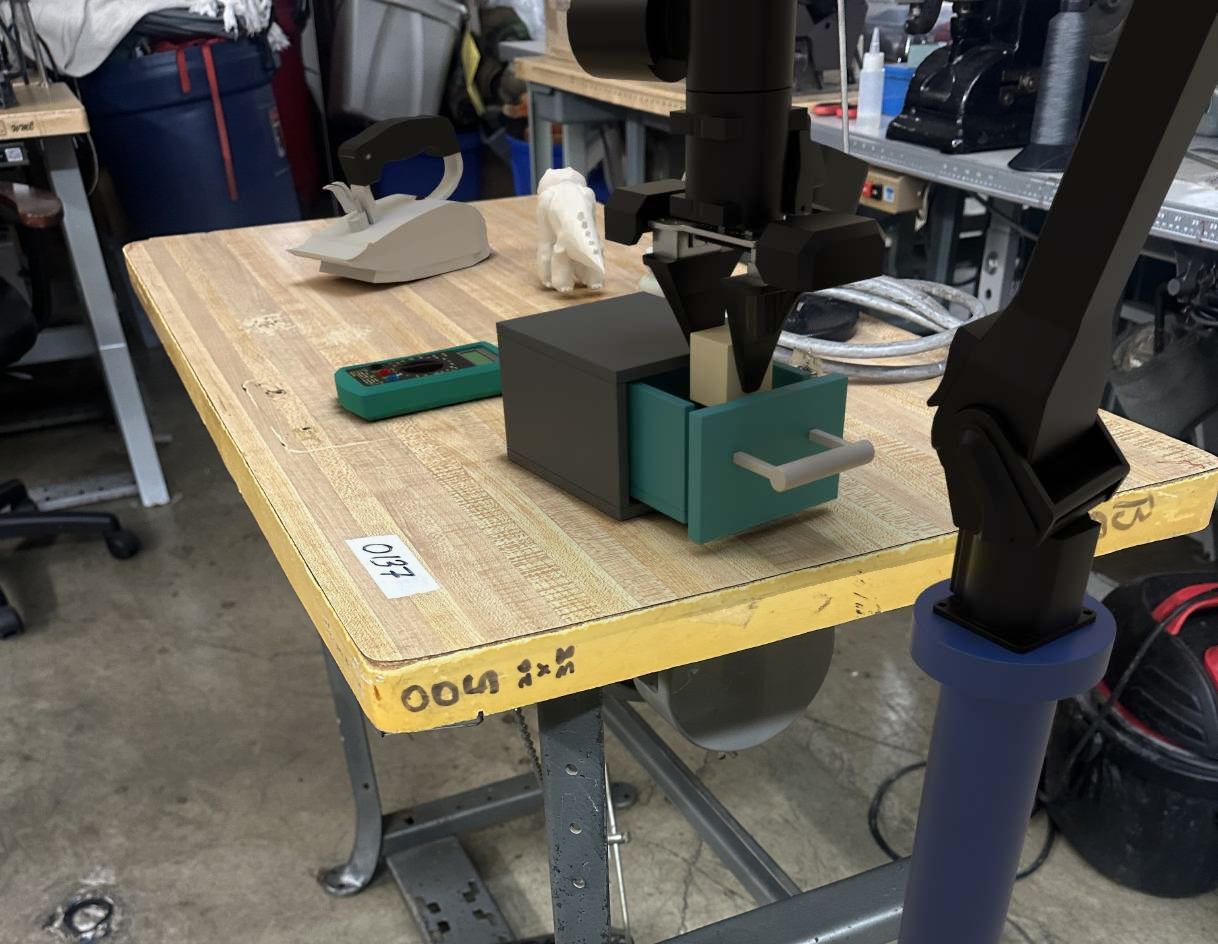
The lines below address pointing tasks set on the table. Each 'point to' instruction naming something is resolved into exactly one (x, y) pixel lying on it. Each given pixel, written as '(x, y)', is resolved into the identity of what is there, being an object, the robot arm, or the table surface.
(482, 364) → the digital multimeter
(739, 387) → the block
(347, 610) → the table surface
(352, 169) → the iron
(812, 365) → the small metal piece
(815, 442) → the teal drawer
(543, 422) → the drawer cabinet
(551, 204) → the toy dinosaur
